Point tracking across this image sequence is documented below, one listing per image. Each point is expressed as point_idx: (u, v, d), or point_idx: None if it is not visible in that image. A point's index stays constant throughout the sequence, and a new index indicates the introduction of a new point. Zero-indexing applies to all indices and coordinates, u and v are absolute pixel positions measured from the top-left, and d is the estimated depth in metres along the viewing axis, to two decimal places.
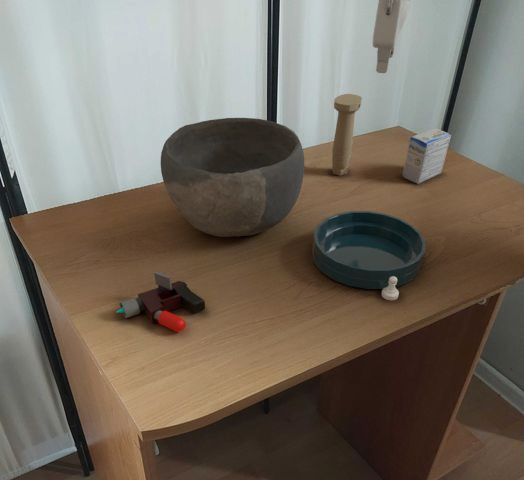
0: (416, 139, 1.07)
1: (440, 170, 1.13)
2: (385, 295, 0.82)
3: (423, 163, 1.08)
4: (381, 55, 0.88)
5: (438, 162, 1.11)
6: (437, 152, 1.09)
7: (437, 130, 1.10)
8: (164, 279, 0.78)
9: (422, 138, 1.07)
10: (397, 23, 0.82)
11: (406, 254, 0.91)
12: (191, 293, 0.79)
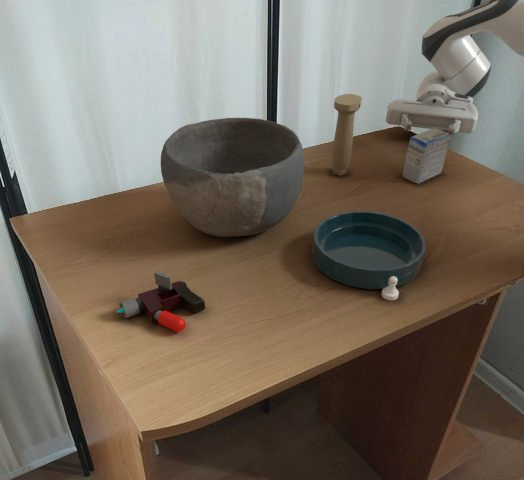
0: (416, 139, 1.07)
1: (440, 170, 1.13)
2: (385, 295, 0.82)
3: (423, 163, 1.08)
4: (402, 122, 1.22)
5: (438, 162, 1.11)
6: (437, 152, 1.09)
7: (437, 130, 1.10)
8: (164, 279, 0.78)
9: (422, 138, 1.07)
10: (390, 103, 1.25)
11: (406, 254, 0.91)
12: (191, 293, 0.79)
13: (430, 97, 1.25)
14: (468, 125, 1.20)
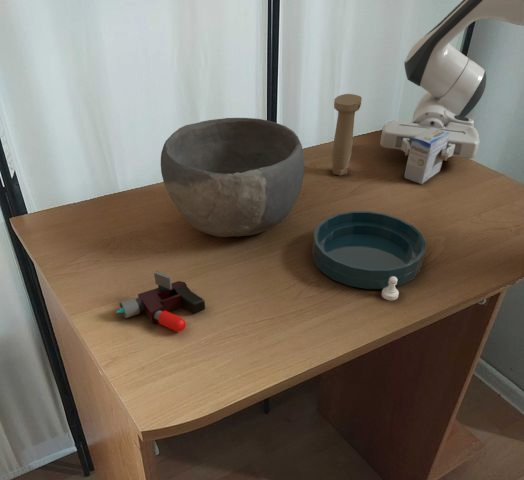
0: (419, 140, 1.06)
1: (439, 168, 1.14)
2: (385, 295, 0.82)
3: (426, 163, 1.08)
4: (402, 147, 1.13)
5: (438, 161, 1.12)
6: (438, 151, 1.09)
7: (435, 129, 1.10)
8: (164, 279, 0.78)
9: (424, 138, 1.06)
10: (385, 126, 1.16)
11: (406, 254, 0.91)
12: (191, 293, 0.79)
13: (428, 119, 1.16)
14: (469, 150, 1.11)
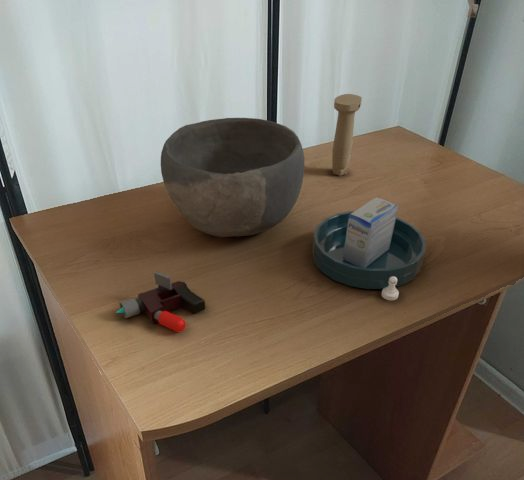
0: (357, 217, 0.83)
1: (388, 246, 0.91)
2: (384, 295, 0.82)
3: (368, 246, 0.84)
4: None
5: (385, 240, 0.88)
6: (384, 228, 0.86)
7: (380, 200, 0.87)
8: (164, 279, 0.78)
9: (364, 215, 0.83)
10: None
11: (406, 254, 0.91)
12: (191, 293, 0.79)
13: None
14: None
